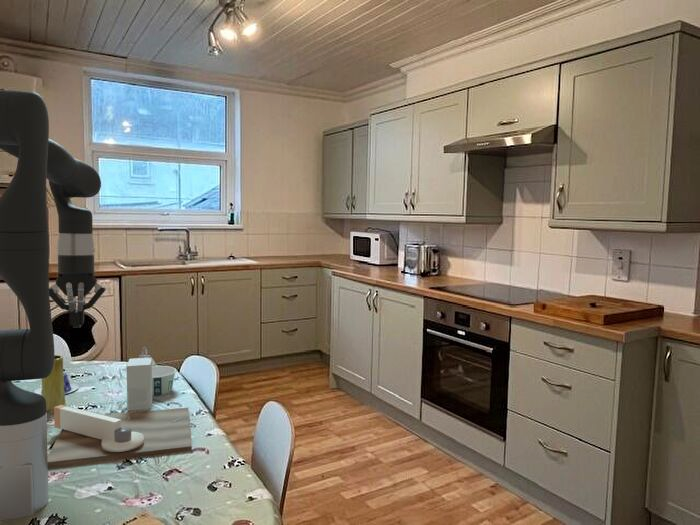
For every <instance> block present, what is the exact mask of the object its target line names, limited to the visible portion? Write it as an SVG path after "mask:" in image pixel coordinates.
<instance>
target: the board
mask: <svg viewBox="0 0 700 525" xmlns="http://www.w3.org/2000/svg"><path fill="white" fill-rule="evenodd" d="M189 412H190V411H189V407H179V408H167V409H158V410H157V409H156V410H145V411H142V410H141V411H132V412H131V411H130V412H121V413H111V414H103V415H104V416H108V417H112V418H117V419H121V427H130V428H131V432H139V433H141V434H143V435H144V443H143V444H142V445H141V446H139V447H137V448H135V449H132V450H129V451H124V452H108V451H105V450H103V449H102V440H101V439H97V438H94V437H90V436H86V435H82V434H79V433H75V432H71V431H68V430H64V429H61V430H60V433H58V436H57V438H56V440H55V442H54V444H52V445H53V446H52V448H51V449H50V451H49V454H48V469H50V468H59V467H67V466H74V465H75V466H76V465H82V464H92V463H101V462H107V461H108V462H109V461H119V460H125V459H133V458H143V457H150V456H151V457H152V456H158V455H160V456H161V455H167V454H168V455H169V454H174V453H175V454H176V453H185V452H192V447H193V446H192V436H191V434H192V433H191V423H190V413H189Z"/></svg>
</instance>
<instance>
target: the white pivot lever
mask: <svg viewBox="0 0 700 525" xmlns="http://www.w3.org/2000/svg"><path fill="white" fill-rule="evenodd" d="M104 415H105V414H99V413H95V412H91V411H87V410H83V409H79V408H76V407H75V408H74V407H72V406H67V405H65V406H64V405H59V406H56V407H54V410H53V416H54V428H57V429H61V430H62V429H64V430H68V431H71V432H75V433H79V434H82V435H86V436H90V437H94V438H97V439H101V440H102V449H103V450H105V451H108V452H124V451H129V450H132V449H135V448H137V447H139V446H141V445H142V444H143V443H144V435H143V434H141V433H139V432H131V428H130V427H121V419H117V418H112V417H108V416H104Z"/></svg>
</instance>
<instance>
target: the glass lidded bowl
mask: <svg viewBox="0 0 700 525" xmlns="http://www.w3.org/2000/svg"><path fill="white" fill-rule="evenodd" d="M144 352H145V354H144ZM137 358H152V356H151V355H149V354H148V349H147V347H146V346H143V348H142V349H141V354H140V355H138V357H137ZM152 366H157V364H156V362H155V360H154V359H153V358H152Z"/></svg>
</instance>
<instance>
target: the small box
mask: <svg viewBox="0 0 700 525" xmlns="http://www.w3.org/2000/svg"><path fill="white" fill-rule="evenodd" d="M152 359H153V357H151V358H147V357H146V358H143V357H142V358H140V357H139V358H138V357H136V358H129V359H128V362H127V364H126V406H127V408H126V409H127V410H126V411H127V412H128V411H130V412H131V411H132V412H133V411H142V410H151V409H152V405H153V396H152Z"/></svg>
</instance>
